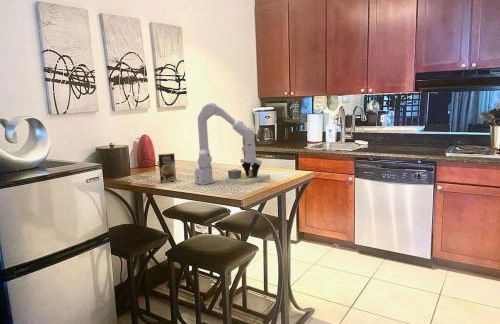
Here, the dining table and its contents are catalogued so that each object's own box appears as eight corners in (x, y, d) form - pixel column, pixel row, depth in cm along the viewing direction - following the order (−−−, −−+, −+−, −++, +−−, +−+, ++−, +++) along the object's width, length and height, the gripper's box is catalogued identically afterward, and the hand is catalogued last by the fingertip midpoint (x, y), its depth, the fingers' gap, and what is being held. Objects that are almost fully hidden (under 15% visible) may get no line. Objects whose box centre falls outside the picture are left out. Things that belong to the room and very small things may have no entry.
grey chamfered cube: (234, 179, 205) (234, 171, 204) (228, 178, 209) (227, 170, 208) (241, 177, 208) (241, 170, 208) (235, 176, 212) (234, 169, 211)
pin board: (244, 185, 198) (243, 175, 198) (225, 181, 209) (225, 173, 208) (270, 178, 212) (269, 169, 211) (251, 175, 223) (250, 167, 222)
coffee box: (160, 183, 216) (157, 155, 213) (160, 181, 222) (158, 154, 220) (176, 181, 218) (174, 154, 215) (176, 179, 224) (174, 152, 221)
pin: (251, 181, 207) (250, 170, 206) (248, 180, 209) (247, 170, 208) (255, 180, 208) (255, 169, 207) (252, 179, 211) (252, 169, 210)
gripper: (264, 151, 204) (266, 176, 206) (246, 150, 214) (247, 173, 216) (255, 153, 199) (257, 178, 201) (237, 152, 209) (238, 176, 211)
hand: (251, 176), depth 208 cm, fingers open, 5 cm apart
